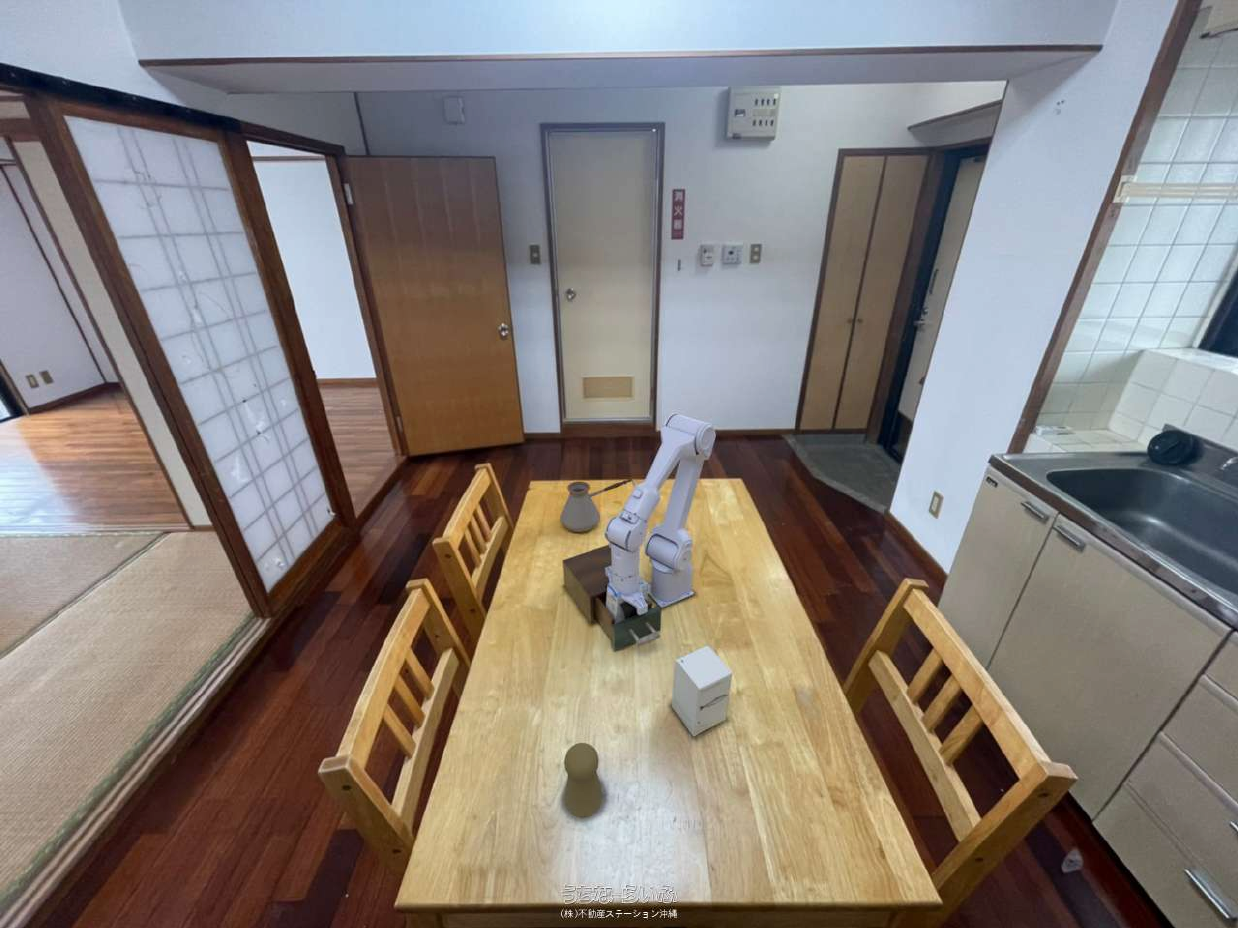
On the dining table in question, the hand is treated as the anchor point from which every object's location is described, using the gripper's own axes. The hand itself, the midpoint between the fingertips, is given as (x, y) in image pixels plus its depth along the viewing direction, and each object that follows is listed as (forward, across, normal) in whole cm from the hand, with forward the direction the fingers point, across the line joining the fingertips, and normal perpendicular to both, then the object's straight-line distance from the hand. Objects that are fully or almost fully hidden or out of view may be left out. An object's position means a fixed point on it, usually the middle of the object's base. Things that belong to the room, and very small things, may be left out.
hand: (625, 617), depth 113 cm
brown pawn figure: (+3, +28, -24) cm, 37 cm away
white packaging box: (+3, +25, +1) cm, 25 cm away
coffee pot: (+3, -39, +13) cm, 41 cm away
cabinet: (+3, -12, 0) cm, 12 cm away
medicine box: (0, 0, 0) cm, 1 cm away
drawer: (+2, +1, 0) cm, 2 cm away
